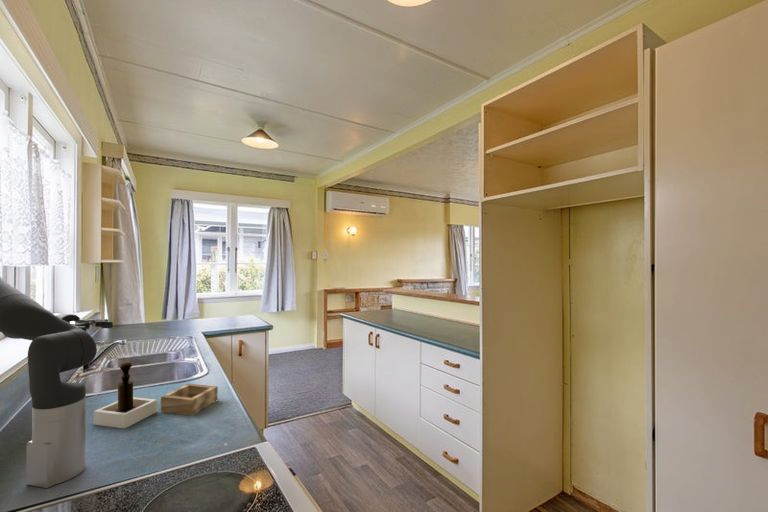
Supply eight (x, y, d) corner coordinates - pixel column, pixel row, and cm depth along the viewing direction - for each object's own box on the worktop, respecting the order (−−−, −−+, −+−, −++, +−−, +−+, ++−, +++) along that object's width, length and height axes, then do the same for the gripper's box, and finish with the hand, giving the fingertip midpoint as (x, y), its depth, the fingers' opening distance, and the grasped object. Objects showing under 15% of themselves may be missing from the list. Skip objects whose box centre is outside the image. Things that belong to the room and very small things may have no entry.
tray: (124, 428, 105) (124, 415, 105) (93, 424, 107) (93, 411, 107) (156, 411, 116) (156, 399, 116) (128, 408, 118) (128, 396, 118)
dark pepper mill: (115, 415, 113) (115, 359, 113) (139, 411, 116) (140, 357, 116) (109, 424, 107) (110, 365, 107) (135, 420, 110) (136, 362, 110)
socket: (192, 415, 113) (192, 400, 113) (160, 411, 116) (161, 396, 116) (217, 400, 125) (217, 386, 125) (188, 397, 128) (188, 383, 128)
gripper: (34, 317, 110) (75, 319, 107) (81, 310, 124) (119, 312, 121) (34, 341, 110) (75, 344, 107) (81, 331, 124) (119, 334, 121)
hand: (98, 327), depth 114 cm, fingers open, 8 cm apart
